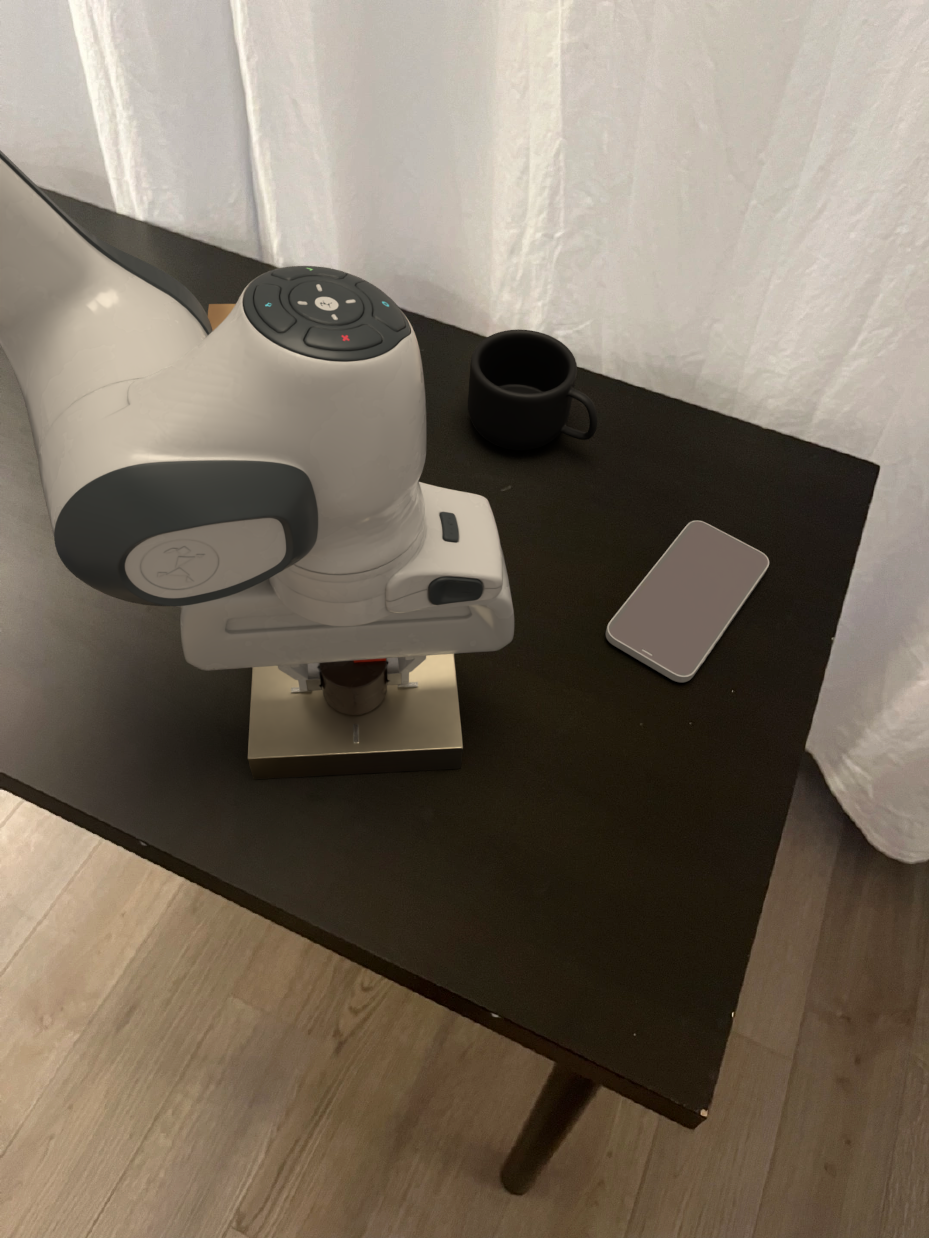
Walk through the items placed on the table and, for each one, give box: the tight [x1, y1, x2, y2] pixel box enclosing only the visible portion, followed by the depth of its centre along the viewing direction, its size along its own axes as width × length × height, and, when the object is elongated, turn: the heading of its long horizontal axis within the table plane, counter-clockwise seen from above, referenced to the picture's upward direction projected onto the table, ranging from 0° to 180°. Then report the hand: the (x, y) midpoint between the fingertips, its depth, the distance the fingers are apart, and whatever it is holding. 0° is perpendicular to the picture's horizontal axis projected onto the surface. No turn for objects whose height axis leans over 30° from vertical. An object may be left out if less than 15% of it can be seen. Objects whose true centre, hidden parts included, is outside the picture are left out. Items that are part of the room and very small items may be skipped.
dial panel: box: [247, 654, 464, 780], centre depth 66 cm, size 14×10×3 cm
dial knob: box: [319, 658, 387, 715], centre depth 64 cm, size 4×4×4 cm
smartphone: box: [605, 520, 770, 683], centre depth 75 cm, size 7×1×15 cm
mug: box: [467, 329, 598, 451], centre depth 83 cm, size 12×9×7 cm
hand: (354, 679), depth 64 cm, fingers closed on dial knob, 4 cm apart
